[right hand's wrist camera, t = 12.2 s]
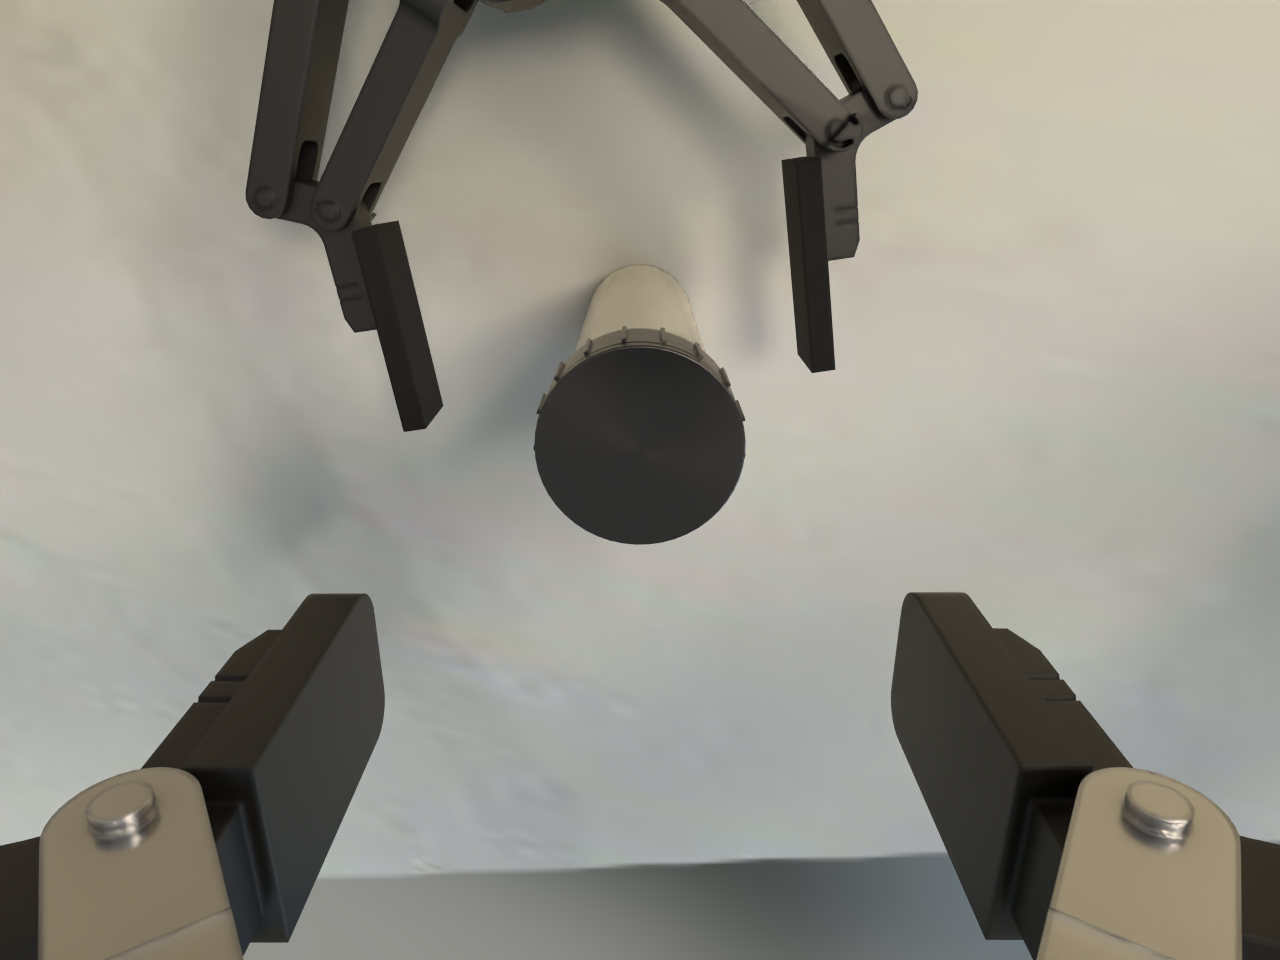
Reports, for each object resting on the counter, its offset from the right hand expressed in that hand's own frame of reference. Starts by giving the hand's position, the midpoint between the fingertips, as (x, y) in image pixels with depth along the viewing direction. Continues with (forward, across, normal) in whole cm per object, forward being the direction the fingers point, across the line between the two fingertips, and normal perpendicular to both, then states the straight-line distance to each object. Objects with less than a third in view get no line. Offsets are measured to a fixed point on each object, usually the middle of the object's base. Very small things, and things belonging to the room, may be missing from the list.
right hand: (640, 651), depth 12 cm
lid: (+9, 0, 0) cm, 9 cm away
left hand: (+18, -1, -1) cm, 18 cm away
